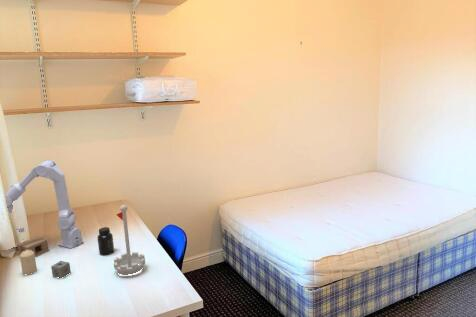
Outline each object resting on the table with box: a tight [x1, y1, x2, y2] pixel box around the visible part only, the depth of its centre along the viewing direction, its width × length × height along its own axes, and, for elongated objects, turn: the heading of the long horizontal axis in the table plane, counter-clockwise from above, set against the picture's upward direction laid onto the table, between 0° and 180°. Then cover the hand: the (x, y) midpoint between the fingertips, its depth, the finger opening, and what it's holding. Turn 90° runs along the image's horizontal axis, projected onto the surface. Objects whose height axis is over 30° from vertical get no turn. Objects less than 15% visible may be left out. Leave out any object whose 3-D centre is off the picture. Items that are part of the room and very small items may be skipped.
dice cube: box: [50, 260, 72, 279], centre depth 160 cm, size 5×5×5 cm
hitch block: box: [17, 236, 50, 258], centre depth 181 cm, size 8×10×6 cm
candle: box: [19, 250, 38, 275], centre depth 163 cm, size 6×6×10 cm
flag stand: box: [113, 204, 146, 275], centre depth 159 cm, size 13×13×30 cm
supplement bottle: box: [97, 226, 115, 256], centre depth 179 cm, size 7×7×12 cm
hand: (15, 243), depth 188 cm, fingers closed
